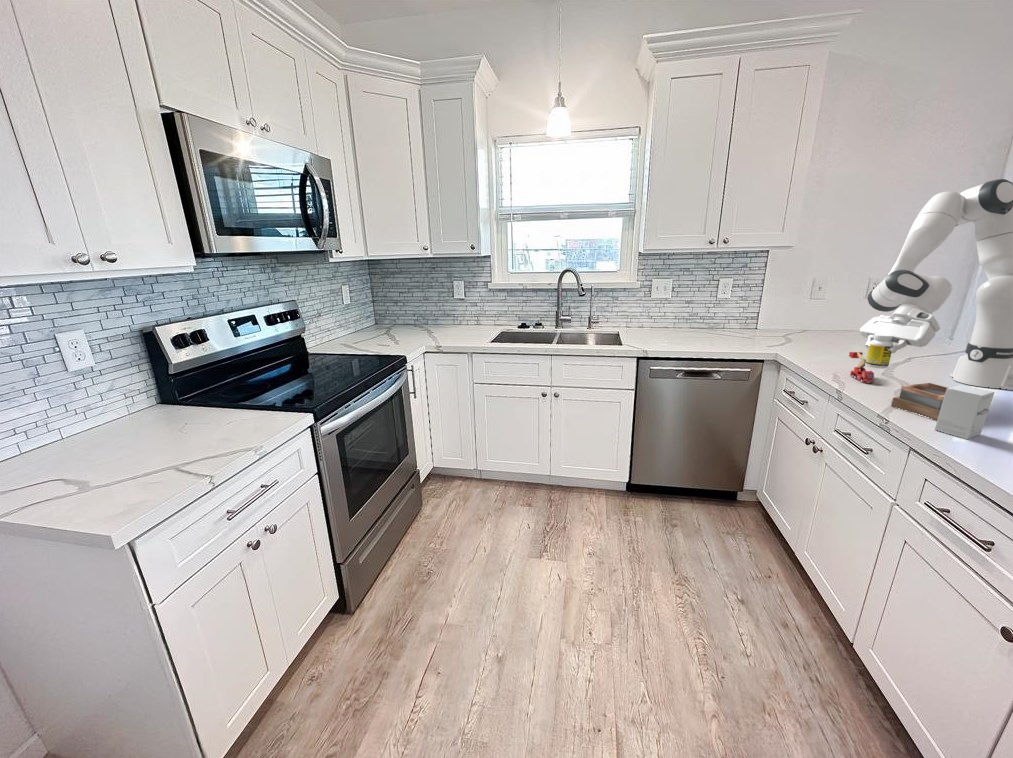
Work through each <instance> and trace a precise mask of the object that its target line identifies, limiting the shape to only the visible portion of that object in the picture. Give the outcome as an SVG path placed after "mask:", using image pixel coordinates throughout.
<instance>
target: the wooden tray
mask: <svg viewBox="0 0 1013 758" xmlns="http://www.w3.org/2000/svg"><path fill="white" fill-rule="evenodd" d="M947 388H948V387H946V386H942V385H940V384H935V383H932V382H925V383H924V382H923V383H915V384H908V385H907V384H906V385H902V386H901V390H900V393H899V396H896V397H895V396H894V397H893V398H892V401H891V406H890V407H892V406H894V407H893V408H895V407H897V408H896V409H898V408H900V409H899V410H901V409H903V410H902V411H904V410H907V411H910V412H914V413H917V414H920V415H923V416H926V417H929V418H932V419H934V420H933V421H935V420H936V421H935V422H937V420H938V416H939V413H940V410H941V406H942V403H943V400H944V396H945V393H946V390H947ZM907 411H906V412H907ZM910 412H909V413H910Z"/></svg>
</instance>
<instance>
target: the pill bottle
mask: <svg viewBox="0 0 1013 758" xmlns="http://www.w3.org/2000/svg"><path fill="white" fill-rule="evenodd" d="M891 339H892V335H887V334H874V340H872V341H871V342H870V344H869V348H867V349H868V350H867V353H866V358H865V359H866V363H865V367H869V368H873V369H887V368H889V365H890V361H891V357H892V353H890V352H889V351H888V348H890V346H894V342H891V341H890V340H891Z"/></svg>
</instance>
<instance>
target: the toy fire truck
mask: <svg viewBox="0 0 1013 758" xmlns="http://www.w3.org/2000/svg"><path fill="white" fill-rule="evenodd" d="M848 353H849V354H848V357H849V358H852V359H860V361H859V363H858V365H857V366H854V368H853V370H850V374H849V376H851V378H852V377H853V379H854V378H855V379H854V380H858V381H860V383H862V382H863V383H864V384H872V383H874V377H875V373H874V372H873V371H872V370H866V369H865V368H866V365H865V363H866V358H865V357H864V356H863V353H864V352H863V351H859V352H858V351H849V352H848Z"/></svg>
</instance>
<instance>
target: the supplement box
mask: <svg viewBox="0 0 1013 758" xmlns="http://www.w3.org/2000/svg"><path fill="white" fill-rule="evenodd" d="M994 395H995V391H993V390H988V389H983V388H977V387H972V386H967V385H962V384H959V385H955V386H952V387H947V390H946V393H945V396H944V400H943V403H942V406H941V410H940V413H939V416H938V420H937V421H936V424H935V426H934V431H937V430H938V431H937V432H940V431H941V433H943V432H944V433H943V434H947V435H950V434H951V436H953V435H954V437H957V436H958V437H957V438H960V437H961V439H965V440H969V439H971V438H973V437H976V436H980V435H981V434H982V432H983V429H984V425H985V422H986V420H987V417H988V415H989V414H988V413H989V410H990V407H991V405H992V404H991V403H992V400H993V398H994Z"/></svg>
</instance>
